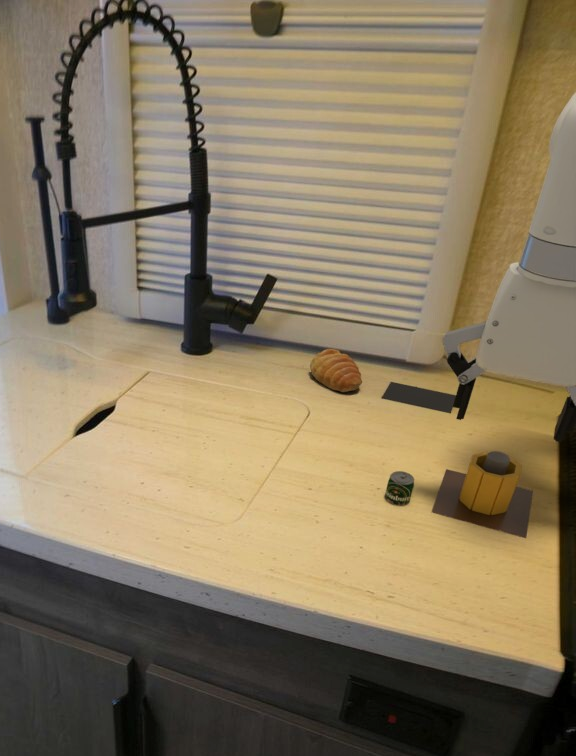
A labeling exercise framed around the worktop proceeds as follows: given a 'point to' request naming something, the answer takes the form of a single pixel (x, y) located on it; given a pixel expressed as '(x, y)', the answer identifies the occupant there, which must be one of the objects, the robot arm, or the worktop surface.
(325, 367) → the pastry
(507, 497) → the sleeve
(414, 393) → the mat
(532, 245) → the robot arm
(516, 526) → the stand
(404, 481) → the beer can
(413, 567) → the worktop surface
